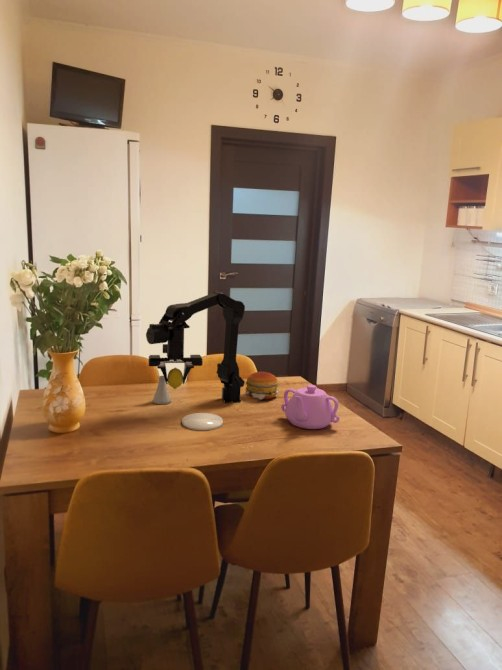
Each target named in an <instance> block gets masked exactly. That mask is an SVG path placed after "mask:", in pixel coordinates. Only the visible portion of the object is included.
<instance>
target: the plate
mask: <svg viewBox="0 0 502 670" xmlns="http://www.w3.org/2000/svg"><path fill="white" fill-rule="evenodd" d="M181 423H182V425H183V427H185V428H187V429H189V430H194V431H201V430H202V431H205V432H206V431H213V430H216V429H219V428H221V427H222V426H223V424H224V420H223V418H222V417H221V416H219V415H218V414H215V413H209V412H195V413H191V414H186V415H185V416H184V417H182V421H181Z"/></svg>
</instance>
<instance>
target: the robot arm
mask: <svg viewBox="0 0 502 670" xmlns="http://www.w3.org/2000/svg"><path fill="white" fill-rule="evenodd" d="M215 306H218V307H220V308H222V316H223V318H224V321H225V333H224V346H223V358H222V360H221V362H220V363H217V364H216V367H217V370H216V374H217V377H218V379H219V380H220V383H221V384H223V387H222V388H221V399H222V400H223V402H224V403H241V402H242V400H241V388H244V385H245V384H246V381H245V380H244V379H243V378H242V377H241V376H240V367H239V364H238V363H237V353H238V352H237V351H238V340H239V338H238V337H239V328H240V327H239V326H240V324H241V321H242V320H243V318H244V315H245V310H246V309H245V308H246V306H245V304H244V302H243V301H240V300H235V299H234V298H232V297H230V296H228V295H226V294H225V293H223V292H221V291H214V292H212V293H209V294H207V295H204V296H201V297H199V298H197V299H194V300H191V301H189V302H185V303H184V302H183V303H182V302H181V303H175V304H170V305H168V306H167V307H166V310H165V312H164V314H163V315H162V317H161V319H160V320H159V322H158V323H151V324H150V323H149V326H148V328H147V329H146V333H145V337H146V341H147V343H148V344H149V345H156V344H157V345H158V344H162V354H166V357H161V355H160V354H150V355H149V356H148V367H156V368H157V369H160V371H161V372H162V376H164V378H165V381H166V385H168V380H167V377H168V373H167V367H166V365H167V364H184V367H183V373H182V375H183V382H182V384H183V385H184V384H185V383H186V379H187V378H188V375H189V373H190V371H191V370H192V369H194V368H195V367H201V366H203V357H202V356H201V355H200V354H190V355H189V357H184V355H185V351H184V349H185V329H190V328H191V326H190V325H189V324H188V323H187V321H188V320H190V319H191V317H192V316H193V315H195V314H197V313H199V312H203V311H204V310H207V309H210V308H212V307H215ZM165 343H166V344H165Z"/></svg>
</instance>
